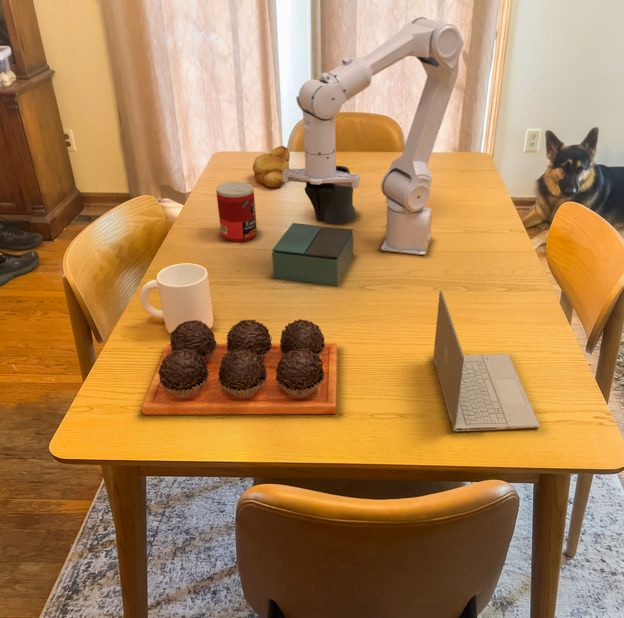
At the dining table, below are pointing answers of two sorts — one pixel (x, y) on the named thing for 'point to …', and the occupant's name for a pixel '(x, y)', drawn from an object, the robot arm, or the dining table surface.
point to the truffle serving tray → (245, 372)
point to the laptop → (478, 384)
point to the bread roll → (272, 166)
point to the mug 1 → (180, 295)
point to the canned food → (236, 211)
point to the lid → (329, 242)
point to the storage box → (308, 257)
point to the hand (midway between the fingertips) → (321, 219)
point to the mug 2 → (341, 203)
